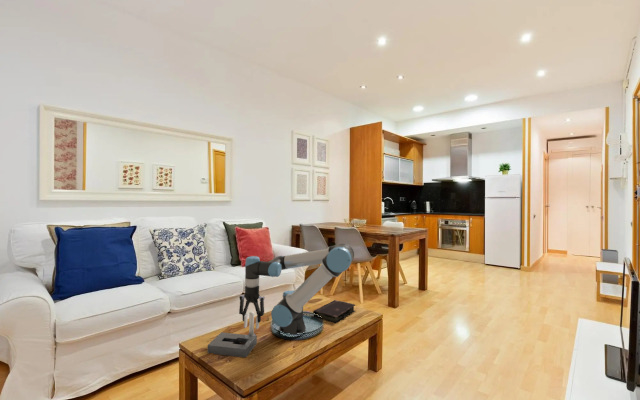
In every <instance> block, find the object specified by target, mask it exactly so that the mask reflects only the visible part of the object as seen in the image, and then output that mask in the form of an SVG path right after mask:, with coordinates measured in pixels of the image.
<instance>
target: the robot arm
mask: <svg viewBox="0 0 640 400" xmlns="http://www.w3.org/2000/svg"><path fill="white" fill-rule="evenodd" d="M354 258H355V251H354V249H353V248H352V247H351V245H349V244H347V243H339V244H334V245H331V246H328V247H327V248H324V249H318V250H313V251H312V250H311V251H306V252H301V253H294V254H290V255H289V254H288V255H278V256H276V257H274V258H273V259H271V260H269V261H262V260H261V259H260V256H256V255H252V256H247V257H246V258H245V265H244V271H245V275H244V279H245V280H244V294H241V295H240V296H238V297H239V309H238V311H239V312H238V314H239V315H242V322H243V328H244V329H246V328H247V327H248V314H247V312H248V309H249V305H250V304H251V303H252V305H253V306H254V309H255V313H256V317H255V330H258V329H259V328H260V323H261V320H262V317H264V315H265V302H264V301H265V296H262V295H261V296H260V276H261V277H262V276H263V277H264V276H265V277H272V278H274V277H279V276H281V274H282V270H283V271H284V270H291V269H297V268H301V267H307V266H315V265H316V266H317V265H319V266H318V268H317V269H315V270H314V271H313V272H312V273H311V274H310V275H309V276H308V277H307V278H306V279H305V280H304V281H303V282H302V283H301V285H299V286H298V287H297V288H296V289H295V290H285V291H284V292H283V293H282V299H281V300H280V301H279V302H278V303H277V304H275V305H274V306H273V308H272V309H271V313H270V314H271V315H270V316H271V320H272V322H273V323H274V324H275V325H276V326H278V327H279V329H278V331H279V330H280V331H282V332H284V333H290V334H297V333H303V332H305V331H307V330H306V329H307V328H306V323H305V320H304V306H305V305H306V304H307V303H308V302H309V301H310V300H311V299H312V298H313V297H314V296H316V294H317V293H319V292H320V290H321V289H323V288H324V286H326V284H328V283H329V282H330V281H331V280H332V279H333V278H338V277H340V275H342V273H343V272H345V271H346V270H348V269H349V267H350V266H351V264H352V262H353V261H354ZM245 300H246V301H245ZM258 300H259V301H258ZM244 304H245V305H244ZM305 333H306V332H305Z"/></svg>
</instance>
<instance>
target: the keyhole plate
mask: <svg viewBox="0 0 640 400" xmlns="http://www.w3.org/2000/svg"><path fill="white" fill-rule="evenodd" d="M257 337H258V335H256V336H252V335H248V334H240V333H230V332H223V331H222V332H220V333H219V334H218V335H217V336H216V337H215V338H213V340H211V341H210V342H209V343H207V344H208V345H207V354H210V353H213V354H212V355H220V356H228V357H229V356H230V357H240V358H244V359H245V358H247V357H248V355H249V354H250V353H251V351H252V350H253V349H254V348H255V347H256V345H257V343H258V342H257V341H258V338H257Z"/></svg>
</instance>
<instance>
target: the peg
mask: <svg viewBox="0 0 640 400" xmlns="http://www.w3.org/2000/svg"><path fill="white" fill-rule="evenodd" d="M248 316H249V319H248V321H249V323H248V324H249V326H248V334H247V335H252V336H257V335H256V333H254V332H255V330H254V329H255V312H254V311H250V312H249V315H248Z"/></svg>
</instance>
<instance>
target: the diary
mask: <svg viewBox="0 0 640 400" xmlns="http://www.w3.org/2000/svg"><path fill="white" fill-rule="evenodd" d="M355 306H356V304H354V303H351V302H346V301H341V300H337V299H334V300H332V301H330V302H328V303H326V304H324V305H322V306H321V307H318V308H316V309H315V310H313V311H312V314H313V313H315V314H318V315H319V316H321V317H322V318H323V319H322V318H321V319H322V320H325V321H327V322H330V323H333V324H338V323H339V322H341V321H343V320H344V319H346V318H347V317H349V316H350V315H351V314H354V313H355V312H356V310H354V309H355Z"/></svg>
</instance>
